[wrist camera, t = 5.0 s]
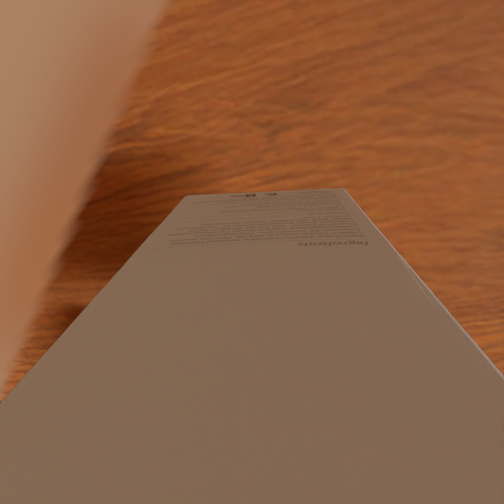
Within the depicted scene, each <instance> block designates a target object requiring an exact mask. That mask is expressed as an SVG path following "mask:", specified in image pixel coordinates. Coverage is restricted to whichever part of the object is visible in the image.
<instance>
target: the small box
mask: <svg viewBox="0 0 504 504" xmlns="http://www.w3.org/2000/svg"><path fill="white" fill-rule="evenodd" d="M0 504H504V376H503V374H502V373H501V372H500V371H499V370H498V369H497V367H496V366H495V365H494V364H493V363H492V362H491V360H490V359H489V358H488V357H487V356H486V355H485V353H484V352H483V351H482V350H481V349H480V348H479V346H478V345H477V344H476V343H475V342H474V341H473V339H472V338H471V337H470V336H469V335H468V334H467V332H466V331H465V330H464V329H463V328H462V327H461V325H460V324H459V323H458V322H457V321H456V320H455V318H454V317H453V316H452V315H451V314H450V313H449V311H448V310H447V309H446V308H445V307H444V305H443V304H442V303H441V302H440V301H439V300H438V298H437V297H436V296H435V295H434V294H433V293H432V291H431V290H430V289H429V288H428V287H427V286H426V284H425V283H424V282H423V281H422V280H421V279H420V277H419V276H418V275H417V274H416V273H415V271H414V270H413V269H412V268H411V267H410V265H409V264H408V263H407V262H406V261H405V260H404V259H403V257H402V256H401V255H400V254H399V253H398V252H397V251H396V249H395V248H394V247H393V246H392V245H391V243H390V242H389V241H388V240H387V239H386V238H385V236H384V235H383V234H382V233H381V232H380V231H379V229H378V228H377V227H376V226H375V225H374V224H373V222H372V221H371V220H370V219H369V218H368V216H367V215H366V214H365V213H364V212H363V211H362V209H361V208H360V207H359V206H358V205H357V203H356V202H355V201H354V200H353V199H352V197H351V196H350V195H349V194H348V193H347V191H346V190H345V189H344V188H330V189H311V190H291V191H273V192H254V193H231V194H207V195H188V196H185V197H184V198H183V199H182V200H181V202H180V203H179V204H178V205H177V206H176V207H175V208H174V209H173V211H172V212H171V213H170V214H169V215H168V216H167V217H166V218H165V220H164V221H163V222H162V223H161V224H160V225H159V226H158V227H157V228H156V229H155V230H154V231H153V232H152V233H151V235H150V236H149V237H148V238H147V239H146V240H145V241H144V242H143V243H142V245H141V246H140V247H139V248H138V249H137V250H136V251H135V253H134V254H133V255H132V256H131V257H130V258H129V259H128V261H127V262H126V263H125V264H124V265H123V266H122V268H121V269H120V270H119V271H118V272H117V273H116V274H115V275H114V276H113V277H112V278H111V279H110V281H109V282H108V283H107V284H106V285H105V286H104V287H103V288H102V289H101V291H100V292H99V293H98V294H97V295H96V296H95V298H94V299H93V300H92V301H91V302H90V303H89V304H88V305H87V307H86V308H85V309H84V310H83V311H82V312H81V313H80V314H79V315H78V317H77V318H76V319H75V320H74V321H73V322H72V323H71V324H70V326H69V327H68V328H67V329H66V330H65V331H64V332H63V334H62V335H61V336H60V337H59V338H58V339H57V340H56V342H55V343H54V344H53V345H52V346H51V347H50V348H49V349H48V351H47V352H46V353H45V354H44V355H43V356H42V357H41V358H40V359H39V360H38V362H37V363H36V364H35V365H34V366H33V367H32V368H31V369H30V370H29V371H28V373H27V374H26V375H25V376H24V377H23V378H22V379H21V380H20V381H19V383H18V384H17V385H16V386H15V387H14V388H13V389H12V390H11V392H10V393H9V394H8V395H7V396H6V397H5V398H4V399H3V400H2V402H1V403H0Z"/></svg>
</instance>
